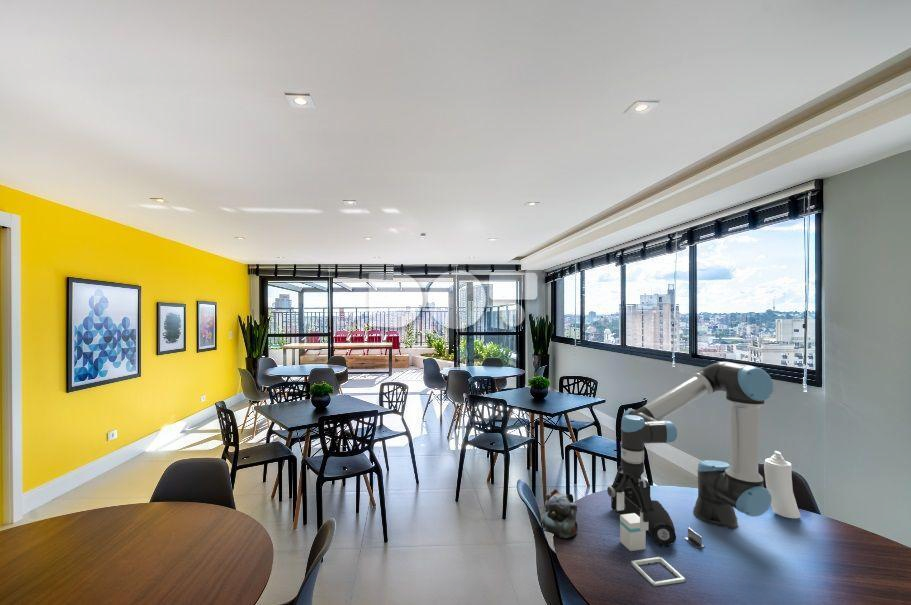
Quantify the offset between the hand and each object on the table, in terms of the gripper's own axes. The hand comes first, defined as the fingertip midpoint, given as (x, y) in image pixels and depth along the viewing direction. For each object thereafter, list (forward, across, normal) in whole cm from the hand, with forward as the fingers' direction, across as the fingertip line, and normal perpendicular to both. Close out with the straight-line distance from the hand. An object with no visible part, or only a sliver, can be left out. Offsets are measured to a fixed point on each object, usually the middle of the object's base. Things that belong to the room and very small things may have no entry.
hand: (631, 519), depth 144 cm
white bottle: (+9, -8, +75) cm, 76 cm away
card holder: (+9, +3, +24) cm, 25 cm away
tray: (+10, +16, -2) cm, 18 cm away
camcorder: (+10, -17, +16) cm, 25 cm away
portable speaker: (+11, +2, +11) cm, 16 cm away
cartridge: (+10, 0, 0) cm, 10 cm away
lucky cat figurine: (+10, -15, -20) cm, 27 cm away
